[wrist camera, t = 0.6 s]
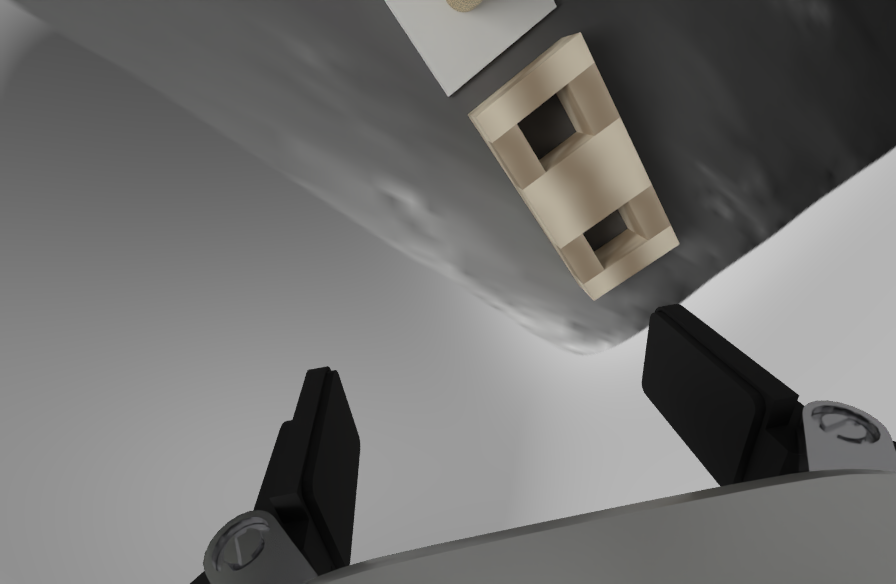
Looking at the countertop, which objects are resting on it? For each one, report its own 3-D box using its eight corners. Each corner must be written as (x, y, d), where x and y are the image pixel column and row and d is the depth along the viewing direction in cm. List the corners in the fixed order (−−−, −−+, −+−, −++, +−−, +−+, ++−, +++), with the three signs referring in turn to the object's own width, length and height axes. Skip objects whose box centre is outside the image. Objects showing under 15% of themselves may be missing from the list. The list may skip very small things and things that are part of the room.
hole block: (561, 37, 31) (580, 32, 28) (657, 231, 39) (679, 244, 36) (467, 114, 33) (475, 117, 29) (578, 284, 41) (594, 300, 38)
